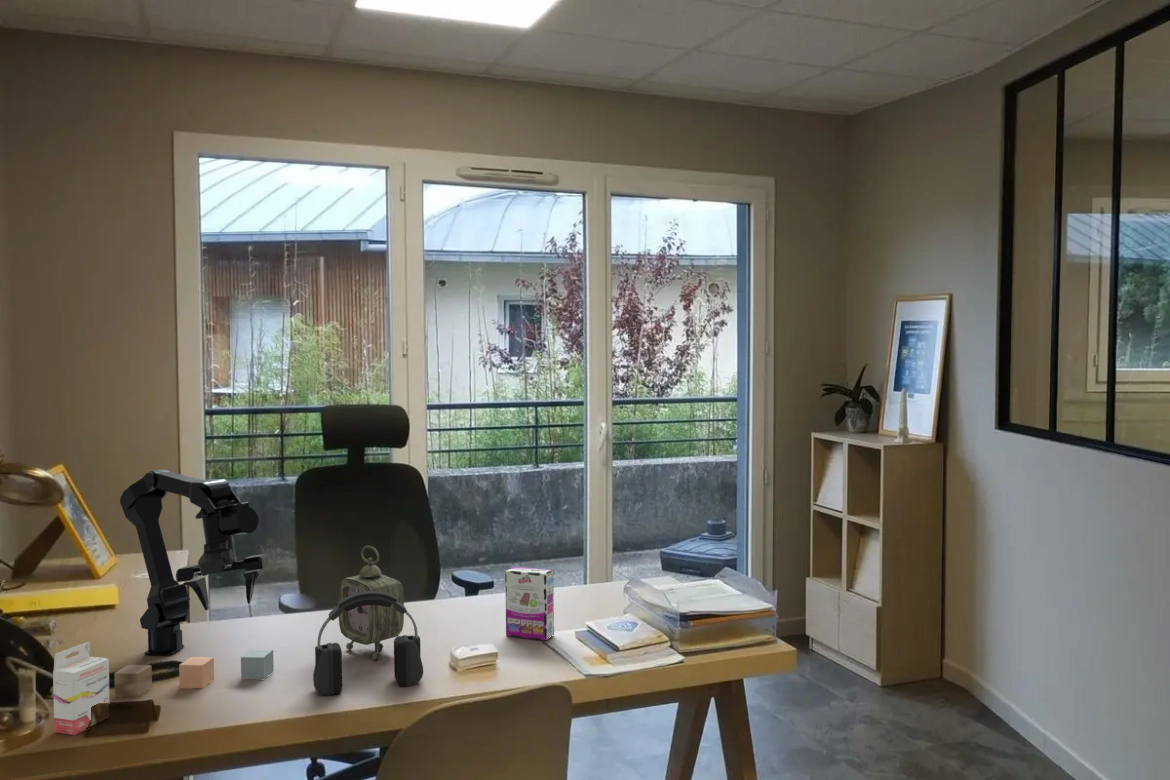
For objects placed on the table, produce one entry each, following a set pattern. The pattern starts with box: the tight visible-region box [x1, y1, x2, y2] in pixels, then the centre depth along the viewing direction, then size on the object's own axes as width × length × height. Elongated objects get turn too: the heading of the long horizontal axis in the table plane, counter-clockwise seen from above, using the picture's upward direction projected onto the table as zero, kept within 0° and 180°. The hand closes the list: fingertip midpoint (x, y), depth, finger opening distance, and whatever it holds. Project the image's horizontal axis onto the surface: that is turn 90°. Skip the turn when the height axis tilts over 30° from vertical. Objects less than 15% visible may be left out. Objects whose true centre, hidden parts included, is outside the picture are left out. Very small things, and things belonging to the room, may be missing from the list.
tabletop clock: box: [337, 545, 405, 661], centre depth 212 cm, size 14×9×25 cm, turn 47°
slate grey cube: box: [240, 648, 275, 680], centre depth 198 cm, size 5×5×5 cm
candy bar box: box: [504, 566, 555, 642], centre depth 224 cm, size 11×5×16 cm, turn 68°
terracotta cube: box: [178, 656, 215, 689], centre depth 193 cm, size 5×5×5 cm
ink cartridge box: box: [52, 641, 110, 736], centre depth 172 cm, size 9×5×15 cm, turn 163°
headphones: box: [312, 591, 424, 696], centre depth 191 cm, size 22×6×20 cm, turn 109°
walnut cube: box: [114, 664, 153, 698], centre depth 188 cm, size 5×5×5 cm
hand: (228, 606), depth 203 cm, fingers open, 9 cm apart
